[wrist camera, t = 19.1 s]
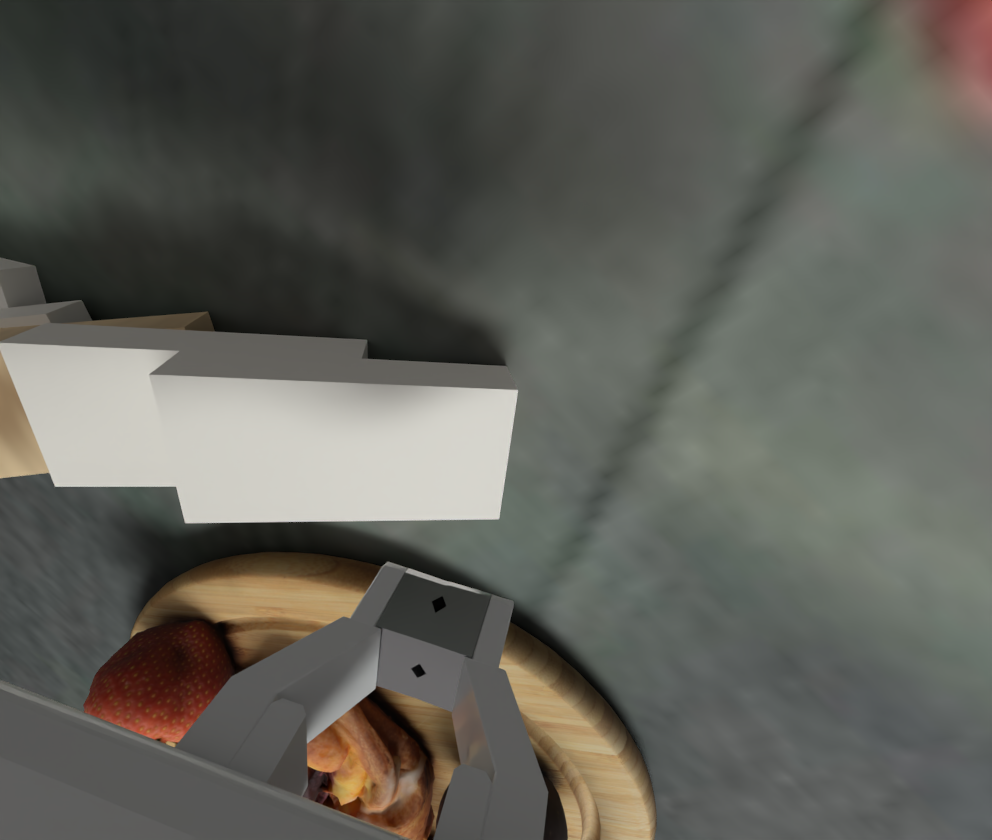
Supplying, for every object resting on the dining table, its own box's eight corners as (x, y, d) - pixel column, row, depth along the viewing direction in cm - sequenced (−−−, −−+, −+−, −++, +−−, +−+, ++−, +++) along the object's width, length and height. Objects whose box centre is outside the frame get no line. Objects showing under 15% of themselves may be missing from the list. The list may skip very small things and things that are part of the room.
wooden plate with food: (63, 589, 30) (-114, 720, 22) (509, 467, 18) (436, 663, 10) (329, 858, 40) (267, 1005, 33) (721, 895, 28) (757, 1139, 21)
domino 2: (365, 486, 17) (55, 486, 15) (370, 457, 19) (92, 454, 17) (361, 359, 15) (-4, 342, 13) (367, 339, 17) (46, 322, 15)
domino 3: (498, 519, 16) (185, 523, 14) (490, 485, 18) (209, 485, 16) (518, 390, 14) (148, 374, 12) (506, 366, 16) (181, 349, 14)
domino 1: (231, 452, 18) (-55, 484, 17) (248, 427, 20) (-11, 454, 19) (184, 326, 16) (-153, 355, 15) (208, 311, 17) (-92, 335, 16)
